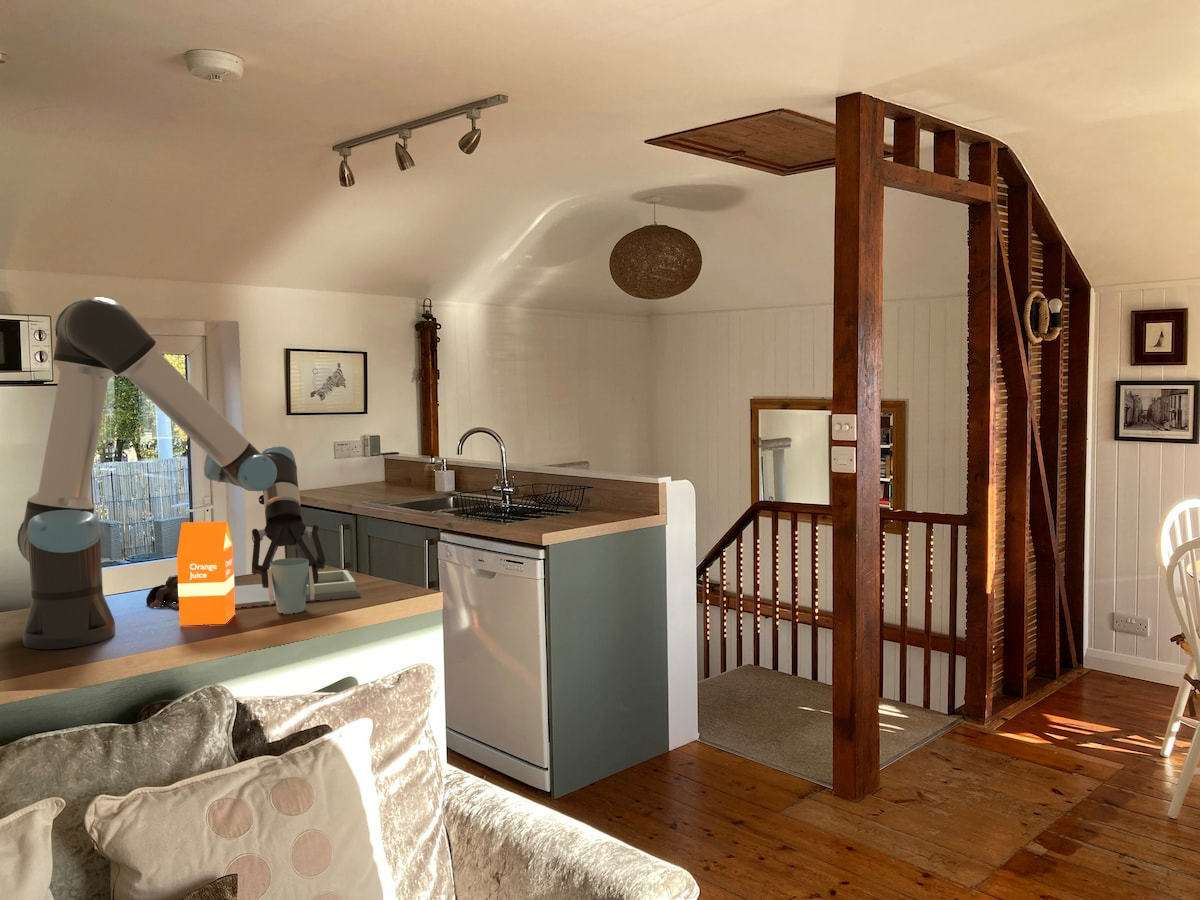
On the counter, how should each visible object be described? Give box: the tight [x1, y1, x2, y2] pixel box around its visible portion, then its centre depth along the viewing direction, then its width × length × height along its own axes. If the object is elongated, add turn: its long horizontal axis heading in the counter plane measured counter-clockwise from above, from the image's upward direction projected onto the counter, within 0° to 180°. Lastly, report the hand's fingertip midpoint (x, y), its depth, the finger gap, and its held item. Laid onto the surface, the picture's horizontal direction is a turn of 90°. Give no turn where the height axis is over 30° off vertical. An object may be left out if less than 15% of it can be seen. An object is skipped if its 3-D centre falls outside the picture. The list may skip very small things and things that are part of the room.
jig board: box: [234, 569, 360, 609], centre depth 211 cm, size 26×17×3 cm, turn 113°
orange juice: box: [176, 521, 236, 626], centre depth 189 cm, size 8×9×20 cm
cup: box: [270, 557, 309, 615], centre depth 196 cm, size 8×8×10 cm
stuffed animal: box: [145, 574, 179, 610], centre depth 205 cm, size 12×10×12 cm
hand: (292, 597), depth 193 cm, fingers closed on cup, 7 cm apart
